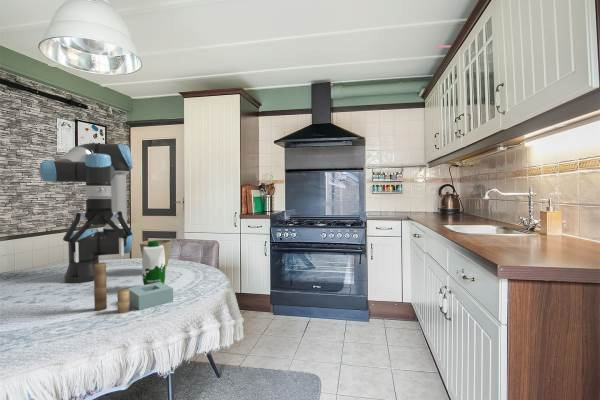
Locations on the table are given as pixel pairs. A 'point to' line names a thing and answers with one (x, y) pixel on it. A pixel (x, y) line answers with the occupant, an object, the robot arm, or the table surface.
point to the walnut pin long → (100, 287)
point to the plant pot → (160, 242)
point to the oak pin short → (123, 301)
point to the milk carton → (153, 263)
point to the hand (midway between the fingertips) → (99, 258)
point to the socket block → (150, 295)
